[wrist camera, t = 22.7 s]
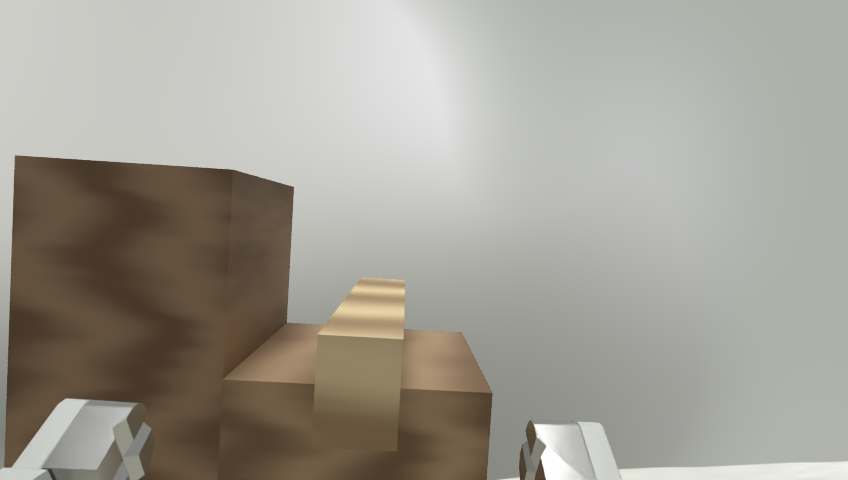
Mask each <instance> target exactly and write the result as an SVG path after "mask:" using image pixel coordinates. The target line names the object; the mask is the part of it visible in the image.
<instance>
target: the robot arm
mask: <svg viewBox="0 0 848 480" xmlns="http://www.w3.org/2000/svg"><path fill="white" fill-rule="evenodd" d="M146 416H147V411H146V409H145V406H144V404H142V403H130V402H116V401H102V400H86V399H68V398H66V399H65V400H63V401H62V402H60V403H59V404H58V405H57V406H56V407H55V409H54V410H53V411H52V413H51V414H50V416H49V417H48V418H47V420H46V421H45V422H44V424H43V425H42V426H41V428H40V429H39V431H38V432H37V433H36V435H35V436H34V437H33V439H32V440H31V441H30V443H29V444H28V446H27V447H26V448H25V450H24V451H23V452H22V454H21V455H20V456H19V458H18V459H17V461H16V462H15V463H14V465H13V466H12V467H11V468H2V469H1V470H0V480H138V479H140V478H141V477H142V476H144V475H145V473H146V471H147V469H148V466H149V464H150V462H151V458H152V454H153V450H154V435H153V431H152V428H150V427H149V426H148V425H146V424H145V423H144V420H145V418H146ZM526 435H527V440H528V441H526V442H525V443H524V444H522V448H521V453H520V463H519V471H520V480H622V478H621V476H620V473H619V470H618V467H617V464H616V462H615V459H614V456H613V453H612V451H611V448H610V445H609V442H608V439H607V437H606V433H605V431H604V428H603V426H602V425H601V424H600V423H592V422H591V423H590V422H574V421H551V420H530V421H529V423H528V425H527V428H526Z"/></svg>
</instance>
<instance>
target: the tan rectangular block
mask: <svg viewBox="0 0 848 480" xmlns="http://www.w3.org/2000/svg"><path fill="white" fill-rule="evenodd" d="M404 298H405V280H391V279H374V278H373V279H372V278H361V279H360V280H359V281H358V282H357V284H356V285H355V287H354V288H353V289H352V290H351V292H350V293H349V294H348V296H347V297H346V298H345V300H344V301H343V302H342V303H341V305H340V306H339V307H338V309H337V310H336V311H335V313H334V314H333V315H332V316H331V318H330V319H329V320H328V322H327V323H326V324H325V325H324V327H323V328H322V329H321V331H320V332H319V333H318V335H317V353H316V371H315V389H314V407H313V425H312V443H311V447H314V448H335V449H356V450H377V451H397V438H398V422H399V405H400V389H401V373H402V357H403V341H404V301H405V299H404Z"/></svg>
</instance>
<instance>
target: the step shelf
mask: <svg viewBox="0 0 848 480" xmlns="http://www.w3.org/2000/svg"><path fill="white" fill-rule="evenodd" d="M14 172H15V173H14V199H13V230H12V259H11V288H10V316H9V317H10V319H9V346H8V375H7V405H6V436H5V463H4V468H11V467H12V466H13V465H14V463H15V462H16V461H17V459H18V458H19V456H20V455H21V454H22V452H23V451H24V450H25V448H26V447H27V446H28V444H29V443H30V441H31V440H32V439H33V437H34V436H35V435H36V433H37V432H38V431H39V429H40V428H41V426H42V425H43V424H44V422H45V421H46V420H47V418H48V417H49V416H50V414H51V413H52V411H53V410H54V409H55V407H56V406H57V405H58V404H59V403H60V402H62V401H63V400H65V399H66V398H68V399H86V400H102V401H116V402H130V403H142V404H144V406H145V409H146V411H147V416H146V418H145V420H144V423H145V424H146V425H148V426H149V427H150V428H152V431H153V435H154V450H153V454H152V458H151V462H150V464H149V466H148V469H147V471H146V473H145V475H144V476H142V477H141V478H140V479H138V480H487V465H488V450H489V436H490V421H491V407H492V391H491V389H490V387H489V385H488V383H487V381H486V379H485V378H484V375H483V374H482V371H481V370H480V367H479V365H478V363H477V362H476V359H475V358H474V356H473V354H472V352H471V350H470V348H469V346H468V344H467V342H466V340H465V338H464V336H463V334H462V332H445V331H428V330H409V329H404V341H403V357H402V373H401V389H400V405H399V422H398V438H397V451H377V450H356V449H335V448H314V447H311V443H312V425H313V407H314V389H315V371H316V353H317V335H318V333H319V332H320V331H321V329H322V328H323V327H324V325H318V324H300V323H287V304H288V288H289V287H288V286H289V269H290V250H291V231H292V212H293V194H294V187H292V186H288V185H284V184H281V183H278V182H274V181H271V180H267V179H263V178H260V177H257V176H253V175H249V174H246V173H242V172H239V171H235V170H229V169H213V168H198V167H183V166H168V165H152V164H136V163H121V162H107V161H91V160H76V159H59V158H46V157H30V156H15V170H14Z"/></svg>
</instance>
